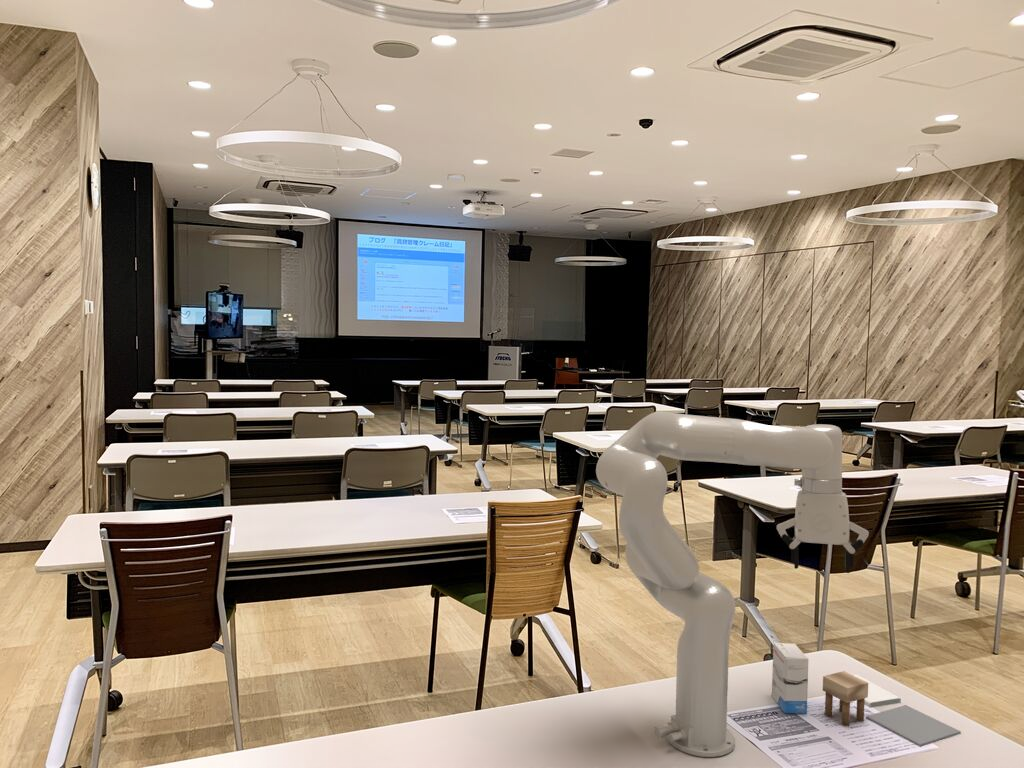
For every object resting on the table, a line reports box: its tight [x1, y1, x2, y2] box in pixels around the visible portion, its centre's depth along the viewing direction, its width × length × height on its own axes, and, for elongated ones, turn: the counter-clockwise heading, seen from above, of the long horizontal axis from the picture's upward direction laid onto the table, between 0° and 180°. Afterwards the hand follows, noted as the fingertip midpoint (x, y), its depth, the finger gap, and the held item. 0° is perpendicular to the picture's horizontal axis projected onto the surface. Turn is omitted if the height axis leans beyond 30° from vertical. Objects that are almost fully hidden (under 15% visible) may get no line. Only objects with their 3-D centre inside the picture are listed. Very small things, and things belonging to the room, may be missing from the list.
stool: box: [822, 670, 868, 727], centre depth 154 cm, size 6×6×8 cm
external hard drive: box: [852, 673, 902, 709], centre depth 166 cm, size 2×8×12 cm
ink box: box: [771, 642, 809, 715], centre depth 159 cm, size 8×5×12 cm, turn 179°
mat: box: [865, 704, 962, 747], centre depth 151 cm, size 12×12×1 cm
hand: (821, 568), depth 153 cm, fingers open, 9 cm apart
